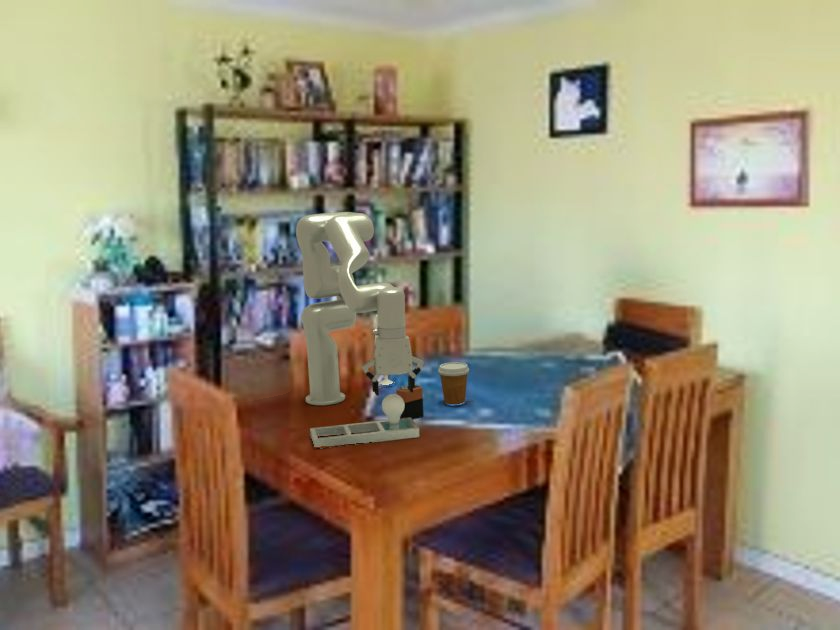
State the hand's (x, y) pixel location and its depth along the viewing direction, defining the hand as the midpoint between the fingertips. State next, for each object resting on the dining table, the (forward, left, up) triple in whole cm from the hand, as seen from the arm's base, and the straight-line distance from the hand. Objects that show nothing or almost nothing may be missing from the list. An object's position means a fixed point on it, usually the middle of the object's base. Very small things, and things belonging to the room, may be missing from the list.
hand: (393, 392), depth 238 cm
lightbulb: (0, 0, -12) cm, 12 cm away
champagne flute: (-50, +7, -12) cm, 52 cm away
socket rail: (+1, -9, -12) cm, 15 cm away
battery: (-12, +7, -12) cm, 19 cm away
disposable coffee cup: (-21, +23, -12) cm, 34 cm away
